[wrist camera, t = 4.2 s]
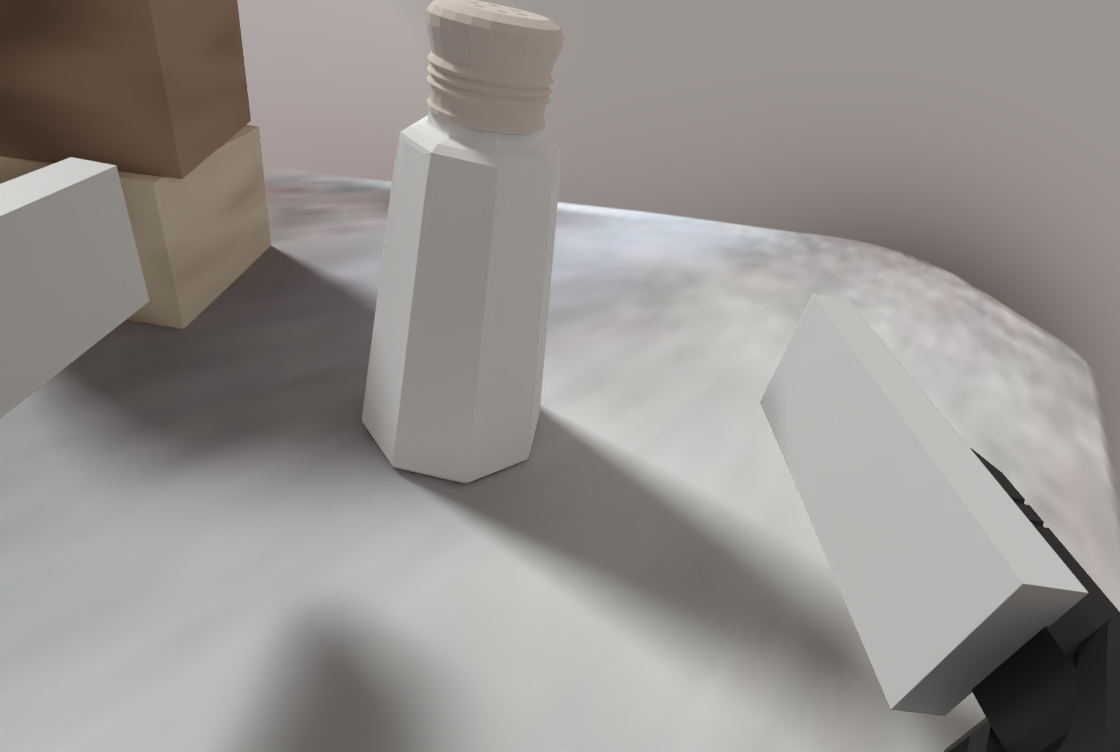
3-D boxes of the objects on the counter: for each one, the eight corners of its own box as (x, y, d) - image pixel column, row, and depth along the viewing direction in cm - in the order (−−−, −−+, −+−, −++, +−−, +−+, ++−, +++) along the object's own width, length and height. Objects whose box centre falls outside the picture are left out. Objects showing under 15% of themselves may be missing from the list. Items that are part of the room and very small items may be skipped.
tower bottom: (-45, 296, 19) (-118, 134, 16) (98, 219, 24) (62, 89, 22) (184, 332, 19) (152, 183, 17) (271, 248, 25) (258, 127, 22)
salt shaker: (361, 370, 19) (356, -30, 13) (521, 369, 21) (584, 16, 15) (361, 493, 15) (355, -5, 9) (560, 480, 17) (671, 54, 11)
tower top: (-110, 142, 16) (-216, -93, 13) (40, 89, 21) (-11, -83, 18) (182, 179, 17) (143, -25, 14) (250, 120, 23) (233, -34, 20)
